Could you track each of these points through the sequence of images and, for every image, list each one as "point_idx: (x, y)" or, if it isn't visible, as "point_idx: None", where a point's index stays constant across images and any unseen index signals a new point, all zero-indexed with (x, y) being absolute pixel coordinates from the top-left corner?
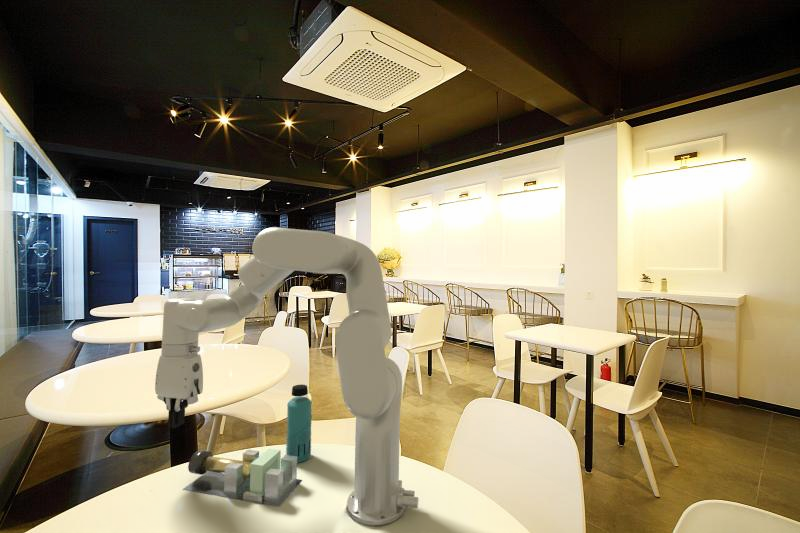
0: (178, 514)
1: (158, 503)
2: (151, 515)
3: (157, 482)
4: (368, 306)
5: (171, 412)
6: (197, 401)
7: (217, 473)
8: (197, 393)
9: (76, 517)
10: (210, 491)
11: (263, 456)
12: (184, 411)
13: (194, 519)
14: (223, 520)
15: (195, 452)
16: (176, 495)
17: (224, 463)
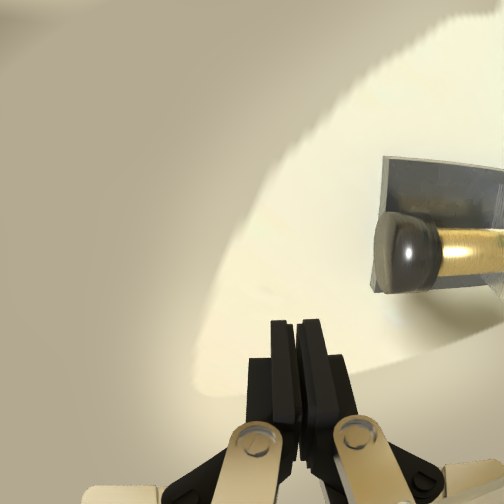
0: (405, 333)
1: (335, 322)
2: (352, 350)
3: (248, 257)
4: None
5: (293, 459)
6: (498, 464)
7: (424, 199)
8: (495, 483)
9: (204, 382)
10: (448, 279)
11: None
12: (356, 409)
13: (442, 332)
14: (489, 317)
15: (399, 279)
16: (356, 289)
17: (497, 271)
